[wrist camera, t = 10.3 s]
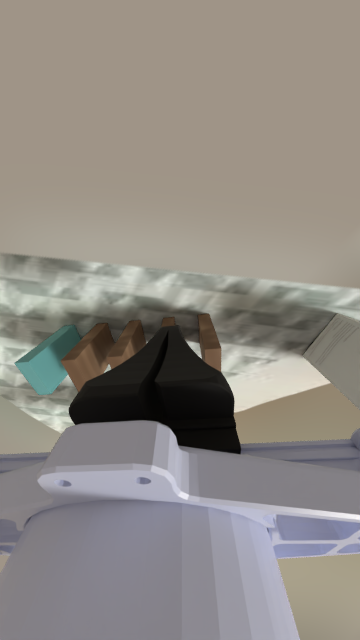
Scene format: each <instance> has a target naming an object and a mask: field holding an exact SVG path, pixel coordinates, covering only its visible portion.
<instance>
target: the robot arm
mask: <svg viewBox="0 0 360 640" xmlns="http://www.w3.org/2000/svg"><path fill="white" fill-rule="evenodd" d="M69 415H70V417H71V419H72V421H73V422H74V424H75V425H74V426H70V427H68V428H66V429H65V431H64V432H63V433H62V434H61V436H60V437H59V439H58V441H57V443H56V444H55V446H54V447H53V449H52V451H51V452H47V453H24V454H1V455H0V555H7V556H9V558H8V560H7V562H6V564H5V566H4V568H3V569H2V571H1V573H0V640H300V638H299V635H298V631H297V628H296V624H295V621H294V617H293V614H292V611H291V607H290V604H289V600H288V597H287V593H286V590H285V587H284V583H283V580H282V576H281V573H280V570H279V567H278V563H277V559H283V558H284V559H285V558H300V557H315V556H329V555H345V554H360V428H359V429H357V430H355V431H354V432H353V434H352V436H351V439H341V440H320V441H319V440H318V441H296V442H273V443H250V444H240V442H239V439H238V435H237V431H236V423H235V419H234V416H233V415H234V396H233V393H232V391H231V388H230V386H229V384H228V382H227V381H226V379H225V377H224V376H223V374H222V373H221V372H220V371H218V370H217V369H215V368H213V367H211V366H210V365H208V364H207V363H206V362H204V361H203V360H202V359H201V358H200V357H199V356H197V355H196V353H195V352H194V351H193V350H192V349H191V348H190V347H189V345H188V344H187V342H186V341H185V339H184V337H183V336H182V333H181V331H180V326H179V325H174V326H163V327H161V328H160V330H159V331H158V332H157V333H156V334H155V335H154V337H153V338H152V339H151V340H150V341H149V342H148V343H147V344H146V345H145V346H144V347H143V348H142V349H141V350H139V351H138V352H137V353H136V354H135V355H133V356H132V357H130V358H129V359H128V360H126V361H125V362H123V363H122V364H120V365H118V366H117V367H115V368H113V369H111V370H109V371H108V372H106V373H104V374H101V375H99V376H97V377H95V378H93V379H91V380H88V381H86V382H85V384H84V385H83V387H82V388H81V390H80V391H79V393H78V394H77V396H76V397H75V399H74V400H73V402H72V403H71V405H70V407H69Z"/></svg>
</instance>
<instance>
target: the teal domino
mask: <svg viewBox="0 0 360 640" xmlns="http://www.w3.org/2000/svg"><path fill="white" fill-rule="evenodd" d="M80 340H81V338H80V336H79V334H78V332H77V330H76V328H75V325H69V326H63V327H62V328H61V329H59V330H58V331H57V332H55V333H54V334H53V335H51V336H50V337H49V338H47V339H46V340H45V341H43V342H42V343H41V344H39V345H38V346H37V347H35V348H34V349H33V350H31V351H30V352H29V353H27V354H26V355H25V356H23V357H22V358H21V359H19V360H18V361H17V362H15V365H16V366H17V367H18V369H19V370H20V371H21V373H22V374H23V375H24V377H25V378H26V379H27V380H28V382H29V383H30V384H31V386H32V387H33V388H34V390H35V391H36V392H37V394H38V395H46V394H52V393H53V391H54V390H55V389H56V388H57V387H58V385H59V384H60V383H61V382H62V381H63V379H64V378H65V377H66V376H67V375H68V373H67V371H66V370H65V368H64V366H63V365H62V363H61V360H62V359H63V358H64V357H65V356H66V355H67V354H68V353H69V352H70V351H71V350H72V349H73V348H74V347H75V346H76V344H77V343H78V342H79V341H80Z"/></svg>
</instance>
